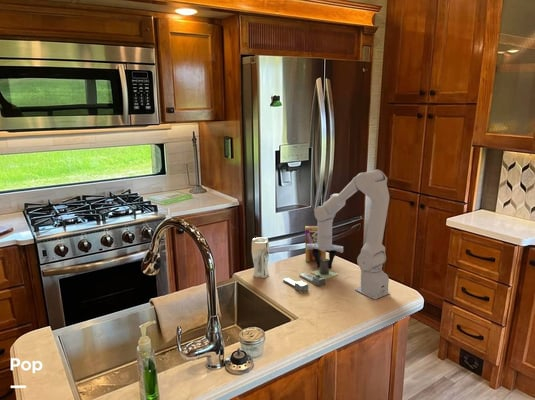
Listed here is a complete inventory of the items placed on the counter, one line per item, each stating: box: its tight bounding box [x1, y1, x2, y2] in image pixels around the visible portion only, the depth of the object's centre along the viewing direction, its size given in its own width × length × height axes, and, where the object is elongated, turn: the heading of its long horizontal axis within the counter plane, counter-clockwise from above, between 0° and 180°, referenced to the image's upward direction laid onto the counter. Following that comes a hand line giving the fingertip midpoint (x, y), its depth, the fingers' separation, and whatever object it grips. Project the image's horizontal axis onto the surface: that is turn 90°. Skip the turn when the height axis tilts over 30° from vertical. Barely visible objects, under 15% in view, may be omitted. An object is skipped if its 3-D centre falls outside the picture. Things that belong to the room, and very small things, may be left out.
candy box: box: [304, 225, 327, 263], centre depth 175 cm, size 9×4×15 cm, turn 85°
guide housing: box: [282, 272, 326, 294], centre depth 154 cm, size 12×11×3 cm
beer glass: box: [251, 237, 270, 279], centre depth 161 cm, size 7×7×15 cm
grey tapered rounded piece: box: [318, 258, 330, 274], centre depth 164 cm, size 10×4×5 cm, turn 9°
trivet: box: [310, 269, 339, 280], centre depth 162 cm, size 8×7×1 cm
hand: (324, 267), depth 161 cm, fingers closed on grey tapered rounded piece, 4 cm apart
